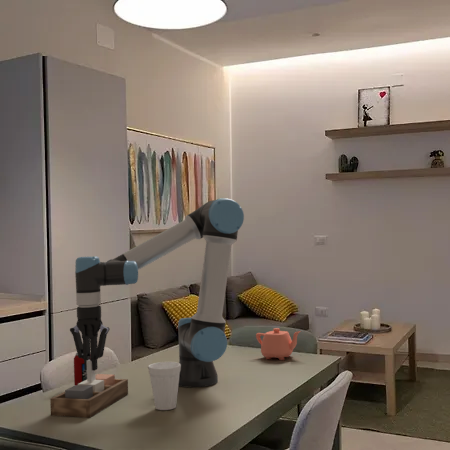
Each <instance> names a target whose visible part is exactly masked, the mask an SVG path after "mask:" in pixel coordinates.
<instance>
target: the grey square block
mask: <svg viewBox="0 0 450 450" xmlns="http://www.w3.org/2000/svg"><path fill="white" fill-rule="evenodd" d="M64 392H65V398H71V399H90V398H91V397H93V386H82V385H75V384H74V385H73V386H70V387H69V388H67V389H64Z"/></svg>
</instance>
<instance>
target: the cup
mask: <svg viewBox="0 0 450 450" xmlns="http://www.w3.org/2000/svg"><path fill="white" fill-rule="evenodd" d="M147 369H148V374H149V379H150V385H151V390H152V397H153V401H154V406H155V407H154V408H155V410H159V411H169V410H173V409H176V408H177V400H178V393H179V392H178V391H179V386H178V384H179V375H180V370H181V364H180V363H179V362H176V361H160V362H154V363H151V364H148V366H147Z"/></svg>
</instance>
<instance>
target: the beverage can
mask: <svg viewBox="0 0 450 450" xmlns="http://www.w3.org/2000/svg"><path fill="white" fill-rule="evenodd" d="M90 356H91V351H90ZM90 359H91V358H90ZM73 378H74V380H73V381H74V383H73V384H74V386H75V385H78V384H79V383H81V382H83V381H85V380H87V370H85V369H84V359H82V358H79V357H78V354H77V352H76V353H75V354H74V358H73Z"/></svg>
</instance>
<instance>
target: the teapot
mask: <svg viewBox="0 0 450 450" xmlns="http://www.w3.org/2000/svg"><path fill="white" fill-rule="evenodd" d="M300 332H302V331H301V330H300V331H295V332H294V333H293V336H292V337H291V336H290V333H289V331H285V330H281V329H280V328H279V327H275V328H274V327H273V329H272V330H271V331H270V330H269V331H266V332H265V333H263V332H257V333H256V334H255V338H256V340H257V342H258V343H259V344H260V346H261V347H260V353H261V355H262V356H263V358H264V357H265V360H271V359H272V358H275V359H276V358H278V360H279V361H284V360H285V359H286V358H289V357H290V356H291V355H292V353H293V351H294V349H295V348H296V346H297V344H298V335H299V333H300ZM261 336H262V338H261Z"/></svg>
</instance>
